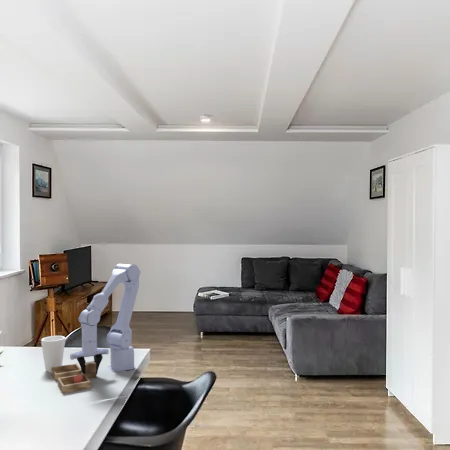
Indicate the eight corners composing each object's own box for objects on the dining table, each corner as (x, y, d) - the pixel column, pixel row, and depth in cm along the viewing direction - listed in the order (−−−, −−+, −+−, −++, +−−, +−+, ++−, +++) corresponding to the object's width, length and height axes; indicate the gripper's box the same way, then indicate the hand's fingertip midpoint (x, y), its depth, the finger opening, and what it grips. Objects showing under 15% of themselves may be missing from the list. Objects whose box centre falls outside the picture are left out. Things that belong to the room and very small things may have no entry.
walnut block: (93, 376, 181) (93, 361, 181) (96, 378, 177) (96, 363, 177) (83, 377, 179) (83, 362, 179) (85, 380, 175) (85, 365, 175)
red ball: (82, 381, 173) (82, 372, 173) (84, 384, 170) (84, 375, 170) (72, 383, 171) (72, 374, 171) (74, 386, 168) (74, 376, 168)
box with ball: (84, 381, 174) (84, 373, 174) (90, 389, 166) (90, 381, 166) (57, 386, 169) (57, 378, 169) (62, 394, 161) (62, 386, 161)
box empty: (76, 370, 187) (76, 363, 187) (82, 377, 179) (81, 370, 179) (51, 374, 183) (51, 367, 183) (55, 382, 174) (55, 374, 174)
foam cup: (57, 373, 184) (56, 341, 184) (36, 372, 186) (36, 340, 186) (69, 366, 193) (69, 336, 193) (50, 365, 195) (50, 335, 195)
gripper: (105, 335, 185) (105, 368, 185) (68, 340, 178) (68, 375, 178) (109, 339, 179) (110, 373, 179) (71, 344, 172) (72, 380, 172)
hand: (89, 374), depth 178 cm, fingers closed on walnut block, 4 cm apart
